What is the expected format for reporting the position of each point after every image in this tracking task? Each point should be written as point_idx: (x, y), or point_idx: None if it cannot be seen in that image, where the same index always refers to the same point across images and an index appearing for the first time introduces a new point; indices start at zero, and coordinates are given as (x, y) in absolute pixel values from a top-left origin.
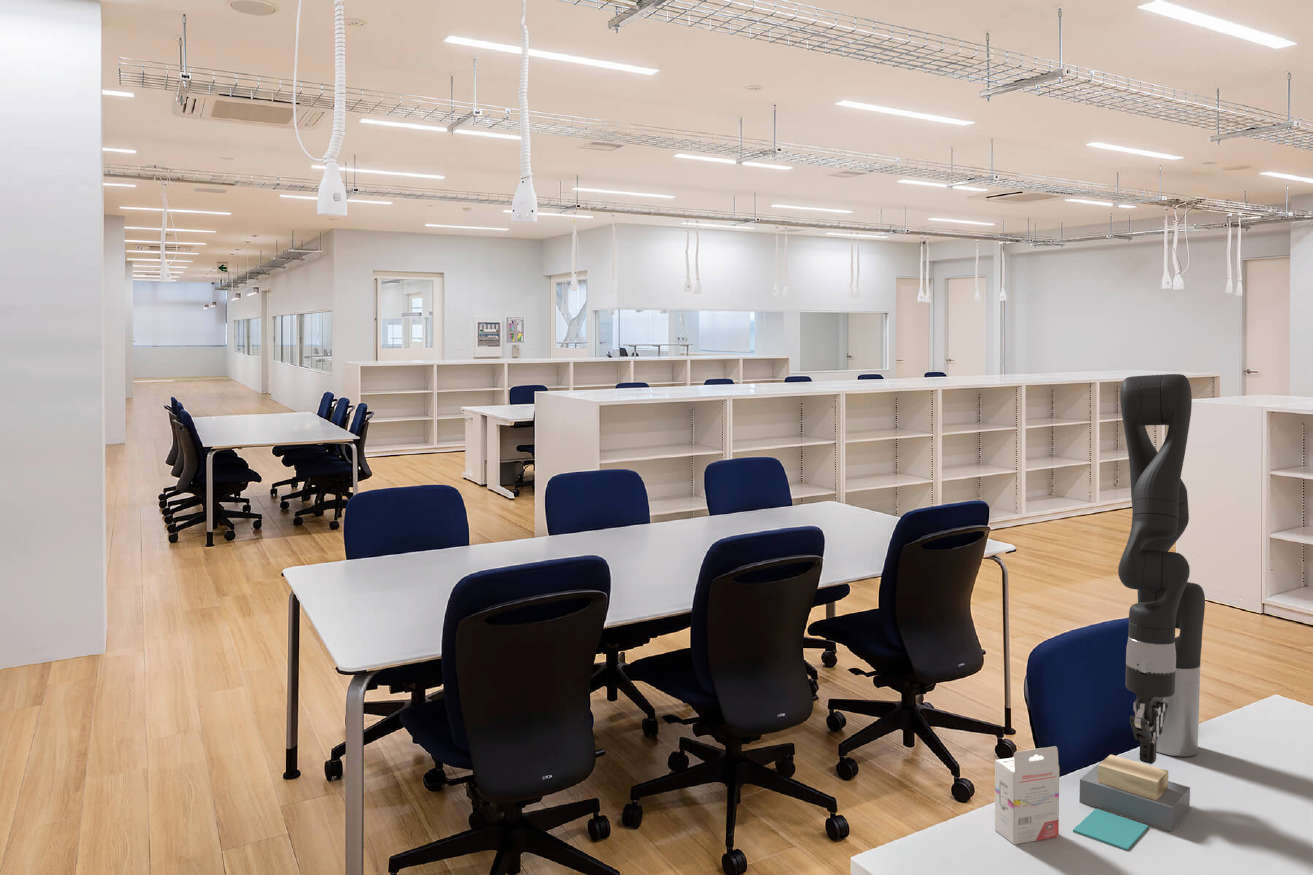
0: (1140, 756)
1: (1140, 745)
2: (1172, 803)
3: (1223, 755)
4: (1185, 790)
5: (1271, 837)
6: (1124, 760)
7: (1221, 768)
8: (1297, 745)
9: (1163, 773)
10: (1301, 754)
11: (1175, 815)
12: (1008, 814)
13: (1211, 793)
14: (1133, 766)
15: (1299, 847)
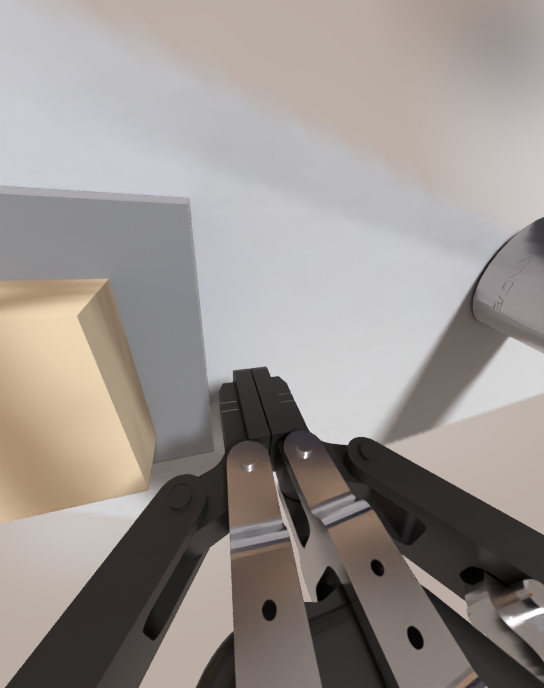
0: (235, 380)
1: (243, 418)
2: None
3: (492, 351)
4: (185, 454)
5: None
6: (71, 391)
7: (436, 367)
8: (536, 392)
9: (105, 496)
10: (508, 403)
11: None
12: None
13: (320, 395)
14: (44, 436)
15: None
